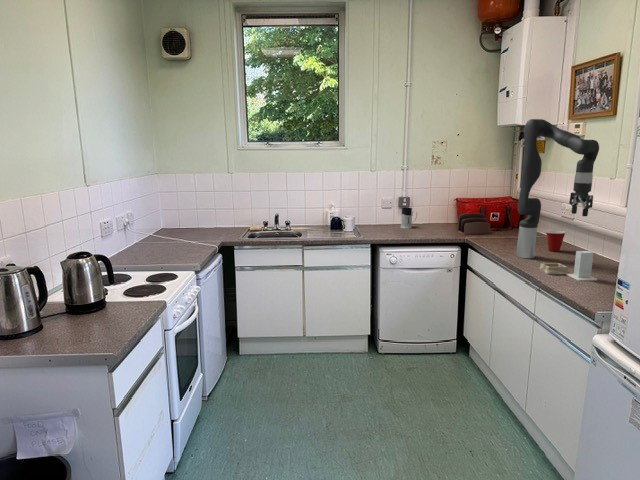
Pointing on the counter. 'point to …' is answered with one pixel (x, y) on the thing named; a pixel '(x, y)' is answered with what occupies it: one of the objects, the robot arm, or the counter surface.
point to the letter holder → (473, 224)
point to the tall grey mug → (407, 217)
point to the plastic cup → (555, 240)
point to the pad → (581, 277)
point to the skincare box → (583, 263)
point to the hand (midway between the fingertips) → (579, 214)
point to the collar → (553, 268)
